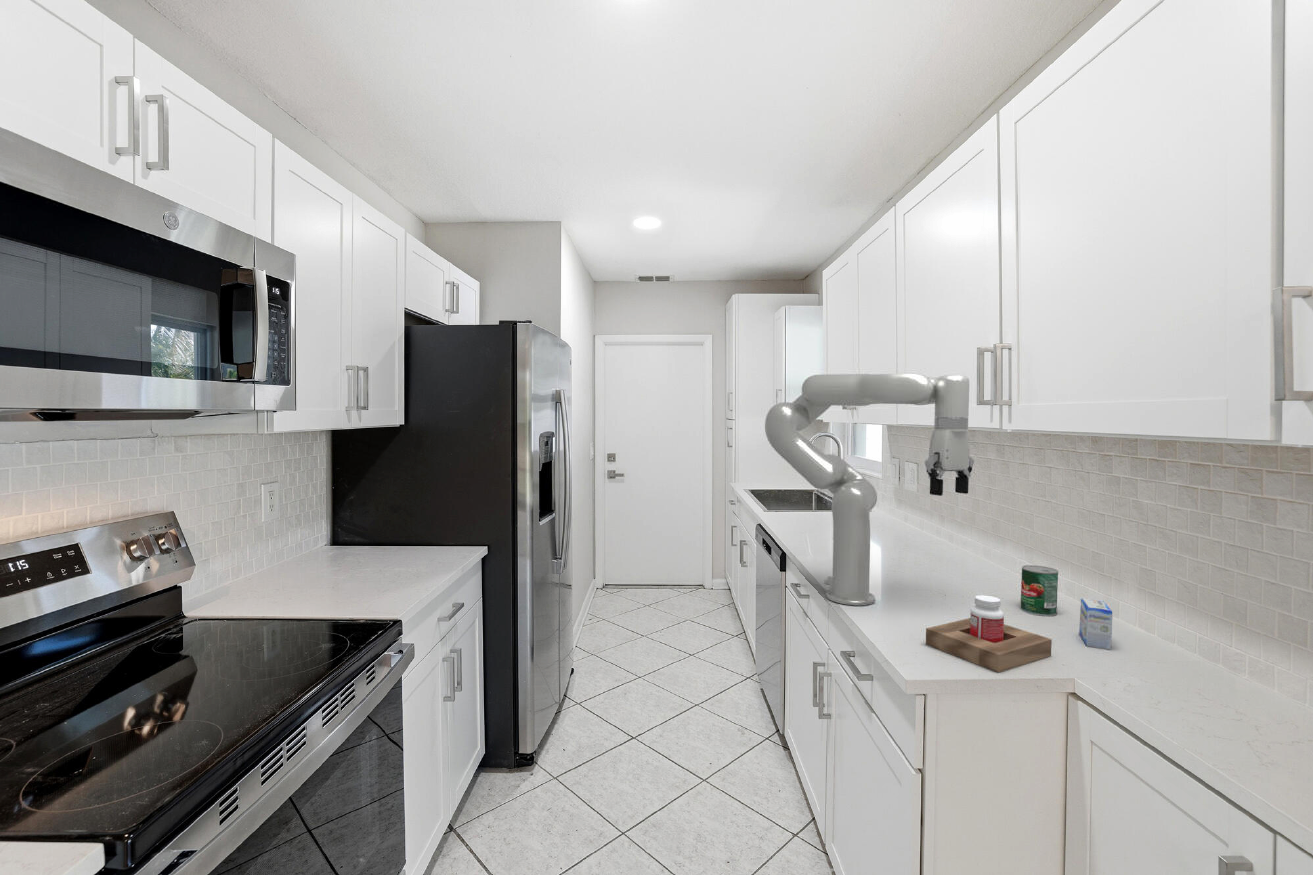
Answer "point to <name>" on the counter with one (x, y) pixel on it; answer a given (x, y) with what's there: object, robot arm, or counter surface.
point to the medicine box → (1095, 623)
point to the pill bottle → (987, 619)
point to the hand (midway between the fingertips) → (949, 494)
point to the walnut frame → (989, 645)
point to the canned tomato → (1039, 590)
